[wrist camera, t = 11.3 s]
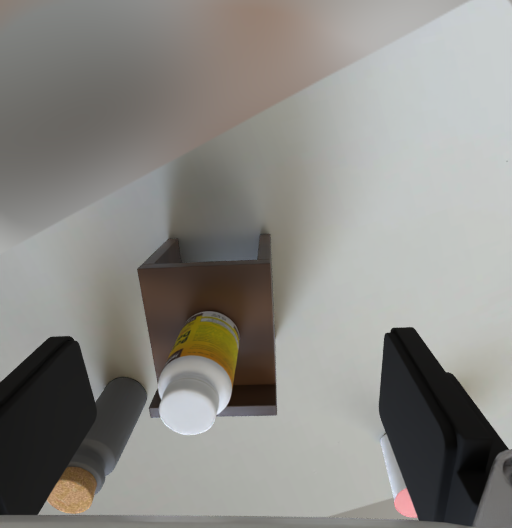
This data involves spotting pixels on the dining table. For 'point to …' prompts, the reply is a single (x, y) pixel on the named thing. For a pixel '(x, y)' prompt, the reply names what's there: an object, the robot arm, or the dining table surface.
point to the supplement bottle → (199, 373)
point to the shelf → (222, 301)
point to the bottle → (100, 446)
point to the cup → (397, 481)
